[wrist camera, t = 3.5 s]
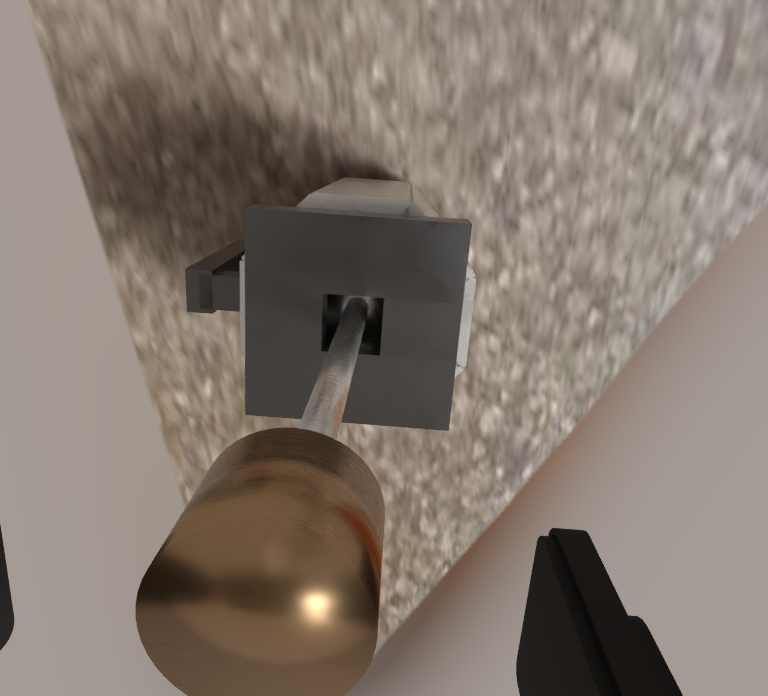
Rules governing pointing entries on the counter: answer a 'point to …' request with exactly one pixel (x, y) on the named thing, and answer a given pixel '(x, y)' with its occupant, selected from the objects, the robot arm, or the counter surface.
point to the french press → (354, 278)
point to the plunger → (277, 552)
